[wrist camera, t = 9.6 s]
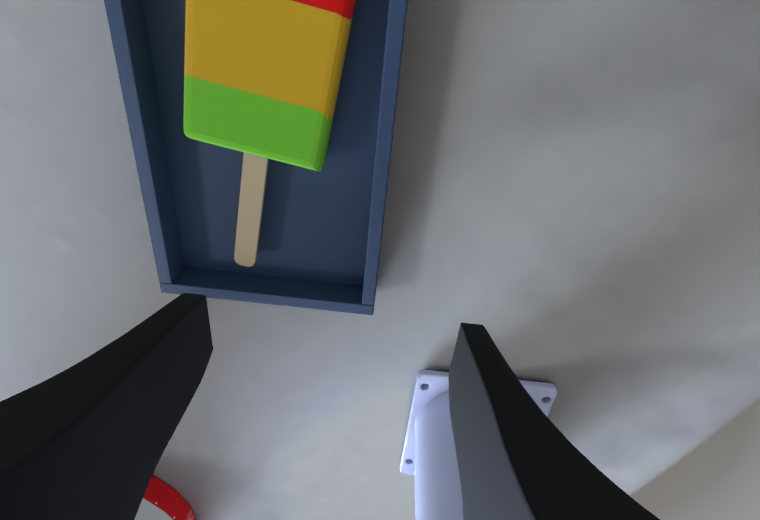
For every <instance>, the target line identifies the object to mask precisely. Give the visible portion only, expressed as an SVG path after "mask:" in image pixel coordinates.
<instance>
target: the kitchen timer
mask: <svg viewBox="0 0 760 520" xmlns="http://www.w3.org/2000/svg"><path fill="white" fill-rule="evenodd" d="M134 520H196V518H195V516H194V514H193V511H192V509H191V507H190V505H189V504H188V503H187V502H186V501H185V500H184V499H183V497H182V496H181V495H180V494H179V493H178V492H177V491H176V490H175V489H173V488H172V487H170V486H169V485H167V484H166V483H164V482H163V481H161V480H160V479H158V478H157V477H155V476H153V475H152V477H151V480H150V482H149V485H148V487H147V489H146V492H145V494H144V497H143V499H142V501H141V504H140V507H139V509H138V512H137V514H136V517H135V519H134Z"/></svg>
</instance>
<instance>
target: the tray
mask: <svg viewBox="0 0 760 520" xmlns="http://www.w3.org/2000/svg"><path fill="white" fill-rule="evenodd" d="M407 1H408V0H356V3H355V8H354V13H353V19H352V24H351V29H350V34H349V39H348V44H347V50H346V55H345V60H344V65H343V70H342V75H341V81H340V86H339V91H338V96H337V101H336V106H335V112H334V117H333V122H332V127H331V132H330V137H329V143H328V148H327V153H326V158H325V163H324V167H323V169H322V170H321V171H320V172H319V171H315V170H311V169H307V168H303V167H299V166H296V165H292V164H288V163H284V162H280V161H276V160H272V159H269V162H268V170H267V178H266V186H265V194H264V202H263V210H262V218H261V226H260V234H259V242H258V250H257V258H256V261H255V263H254V265H253V266H250V267H247V266H242V265H239V264H238V263H236V261H235V259H234V252H235V241H236V231H237V220H238V209H239V198H240V188H241V177H242V166H243V155H244V152H241V151H237V150H233V149H229V148H225V147H221V146H218V145H214V144H210V143H206V142H202V141H198V140H194V139H191V138H188V137H187V136H186V135H185V133H184V129H183V118H184V67H185V15H186V0H104V2H105V7H106V12H107V17H108V22H109V27H110V32H111V38H112V43H113V48H114V53H115V58H116V63H117V68H118V73H119V78H120V83H121V88H122V94H123V99H124V104H125V109H126V114H127V119H128V124H129V129H130V134H131V139H132V145H133V150H134V155H135V160H136V165H137V170H138V175H139V180H140V185H141V190H142V195H143V201H144V206H145V211H146V216H147V221H148V226H149V231H150V236H151V241H152V246H153V251H154V257H155V262H156V267H157V272H158V277H159V282H160V287H161V292H162V293H171V294H181V295H182V294H183V293H192V294H201V295H206V297H208V298H218V299H227V300H236V301H245V302H255V303H264V304H273V305H282V306H291V307H301V308H310V309H319V310H328V311H338V312H347V313H356V314H365V315H373V311H374V302H375V293H376V284H377V275H378V266H379V257H380V247H381V238H382V229H383V220H384V211H385V202H386V193H387V184H388V175H389V165H390V156H391V147H392V138H393V129H394V120H395V111H396V102H397V93H398V83H399V74H400V65H401V56H402V47H403V38H404V29H405V20H406V10H407Z"/></svg>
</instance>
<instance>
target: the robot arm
mask: <svg viewBox="0 0 760 520" xmlns="http://www.w3.org/2000/svg"><path fill="white" fill-rule="evenodd" d="M212 351H213V345H212V338H211V331H210V323H209V316H208V308H207V301H206V295H201V294H192V293H183V294H182V295H180V296H178V297H177V298H176V299H174V300H173V301H171V302H170V303H168V304H167V305H166V306H164V307H163V308H161V309H160V310H159V311H157V312H156V313H154V314H153V315H152V316H150V317H149V318H147V319H146V320H144V321H143V322H142V323H140V324H139V325H137V326H136V327H134V328H133V329H131V330H130V331H128V332H127V333H126V334H124V335H123V336H121V337H119V338H118V339H116V340H115V341H113V342H112V343H110V344H108V345H107V346H105V347H104V348H102V349H100V350H99V351H97V352H96V353H94V354H93V355H91V356H89V357H88V358H86V359H84V360H83V361H81V362H79V363H77V364H76V365H74V366H72V367H70V368H69V369H67V370H65V371H63V372H61V373H59V374H57V375H55V376H53V377H52V378H50V379H48V380H46V381H44V382H42V383H40V384H38V385H36V386H33V387H31V388H29V389H27V390H25V391H23V392H20V393H18V394H16V395H14V396H12V397H10V398H8V399H5V400H3V401H1V402H0V520H134V519H135V517H136V514H137V512H138V509H139V507H140V504H141V501H142V499H143V497H144V494H145V492H146V489H147V487H148V485H149V482H150V480H151V477H152V475H153V473H154V470H155V468H156V466H157V464H158V462H159V460H160V458H161V455H162V453H163V451H164V450H165V448H166V446H167V444H168V442H169V440H170V438H171V437H172V435H173V433H174V431H175V429H176V427H177V425H178V424H179V422H180V420H181V418H182V416H183V414H184V413H185V411H186V409H187V407H188V405H189V403H190V401H191V399H192V398H193V396H194V394H195V392H196V390H197V388H198V386H199V384H200V382H201V380H202V378H203V375H204V372H205V370H206V367H207V365H208V362H209V359H210V356H211V354H212ZM423 384H427V385H423ZM556 395H557V389H556V387H555V385H553V384H551V383H544V382H534V381H525V380H518V378H517V377H516V375H515V374H514V373H513V371H512V370H511V368H510V367H509V365H508V364H507V362H506V361H505V359H504V358H503V356H502V355H501V353H500V351H499V350H498V348H497V347H496V345H495V343H494V342H493V340H492V338H491V337H490V335H489V333H488V332H487V330H486V329H485V327H484V326H483V325H478V324H469V323H461V325H460V329H459V333H458V338H457V342H456V346H455V350H454V354H453V358H452V362H451V366H450V370H449V372H442V371H432V370H422V371H420V372H419V373H418V375H417V379H416V384H415V390H414V395H413V400H412V405H411V410H410V416H409V421H408V426H407V431H406V436H405V442H404V447H403V452H402V457H401V462H400V471H401V473H403V474H406V475H415V520H660V519H658V518H657V517H656V516H654V515H653V514H652V513H650V512H649V511H648V510H646V509H645V508H643V507H642V506H641V505H640V504H639V503H637V502H636V501H635V500H634V499H632V498H631V497H630V496H629V495H628V494H626V493H625V492H624V491H623V490H621V489H620V488H619V487H618V486H617V485H615V484H614V483H613V482H612V481H611V480H610V479H609V478H607V477H606V476H605V475H604V474H603V473H602V472H601V471H599V470H598V469H597V468H596V467H595V466H594V465H593V464H592V463H591V462H590V461H589V460H588V459H587V458H586V457H585V456H584V455H583V454H581V453H580V452H579V451H578V450H577V449H576V448H575V447H574V446H573V445H572V444H571V443H570V442H569V441H568V440H567V438H566V437H565V436H564V435H563V434H562V433H561V432H560V431H559V430H558V429H557V428H556V426H555V425H554V424H553V423H552V422H551V421H550V420H549V419H548V417H547V416H548V414H549V412H550V409H551V407H552V405H553V402H554V400H555V398H556ZM544 397H546V398H544Z"/></svg>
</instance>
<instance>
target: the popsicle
mask: <svg viewBox="0 0 760 520" xmlns="http://www.w3.org/2000/svg"><path fill="white" fill-rule="evenodd" d="M355 3H356V0H186V15H185V67H184V118H183V129H184V133H185V135H186V136H187V137H188V138H191V139H194V140H198V141H202V142H206V143H210V144H214V145H218V146H221V147H225V148H229V149H233V150H237V151H241V152H244V155H243V166H242V177H241V188H240V198H239V209H238V220H237V231H236V241H235V252H234V259H235V261H236V263H238V264H239V265H242V266H247V267H250V266H253V265H254V263H255V261H256V258H257V250H258V242H259V234H260V226H261V218H262V210H263V202H264V194H265V186H266V178H267V170H268V162H269V159H272V160H276V161H280V162H284V163H288V164H292V165H296V166H299V167H303V168H307V169H311V170H315V171H319V172H320V171H321V170H322V169H323V167H324V163H325V158H326V153H327V148H328V143H329V137H330V132H331V127H332V122H333V117H334V112H335V106H336V101H337V96H338V91H339V86H340V81H341V75H342V70H343V65H344V60H345V55H346V50H347V44H348V39H349V34H350V29H351V24H352V19H353V13H354V8H355Z"/></svg>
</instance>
